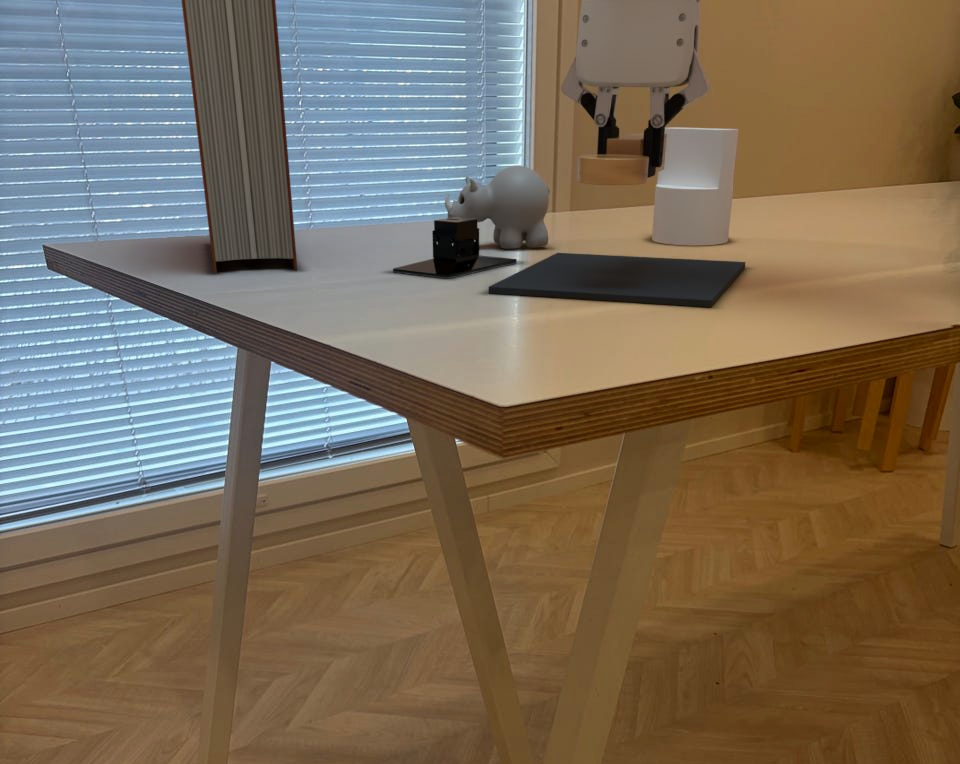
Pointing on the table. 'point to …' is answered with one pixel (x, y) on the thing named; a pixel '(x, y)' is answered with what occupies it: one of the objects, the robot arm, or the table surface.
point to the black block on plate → (454, 251)
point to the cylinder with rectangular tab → (695, 187)
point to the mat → (624, 279)
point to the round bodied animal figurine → (507, 206)
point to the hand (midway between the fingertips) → (628, 173)
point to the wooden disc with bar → (618, 163)
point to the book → (241, 127)
